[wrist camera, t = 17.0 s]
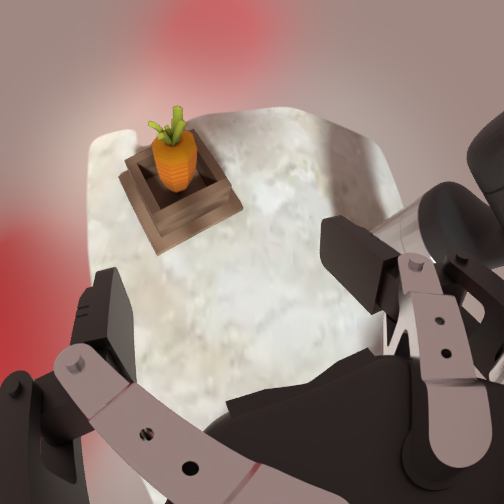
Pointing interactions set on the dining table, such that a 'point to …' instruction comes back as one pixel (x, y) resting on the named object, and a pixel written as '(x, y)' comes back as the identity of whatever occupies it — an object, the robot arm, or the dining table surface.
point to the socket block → (178, 198)
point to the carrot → (175, 153)
